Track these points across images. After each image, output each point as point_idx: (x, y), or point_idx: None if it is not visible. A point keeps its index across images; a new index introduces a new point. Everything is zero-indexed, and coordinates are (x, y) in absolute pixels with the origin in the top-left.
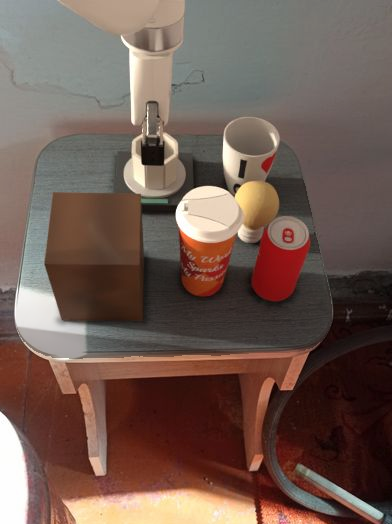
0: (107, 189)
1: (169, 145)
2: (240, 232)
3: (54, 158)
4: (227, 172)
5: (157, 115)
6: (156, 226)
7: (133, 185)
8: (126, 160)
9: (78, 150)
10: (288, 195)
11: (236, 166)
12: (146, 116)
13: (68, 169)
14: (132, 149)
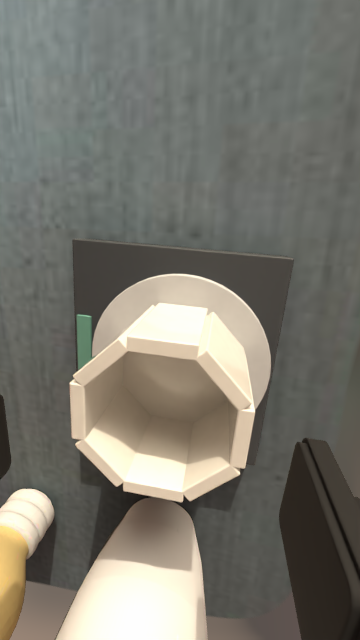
0: (162, 217)
1: (201, 458)
2: (7, 504)
3: (325, 6)
4: (112, 557)
5: (285, 507)
6: (44, 336)
7: (130, 300)
8: (246, 286)
9: (351, 111)
10: None
11: (65, 621)
12: (294, 455)
13: (259, 75)
14: (148, 340)
